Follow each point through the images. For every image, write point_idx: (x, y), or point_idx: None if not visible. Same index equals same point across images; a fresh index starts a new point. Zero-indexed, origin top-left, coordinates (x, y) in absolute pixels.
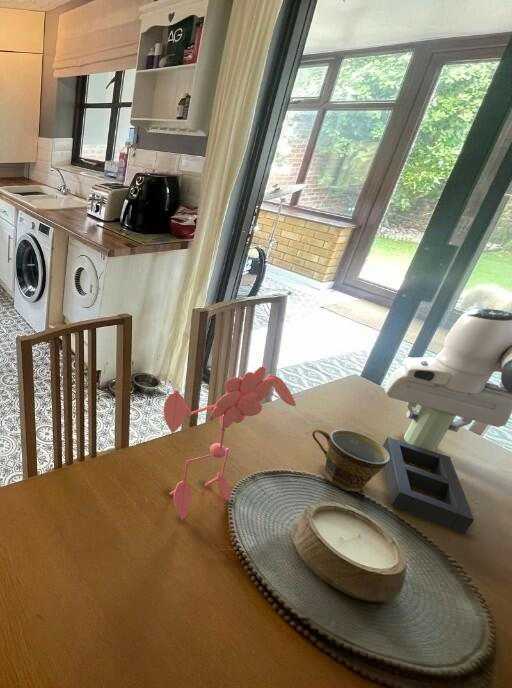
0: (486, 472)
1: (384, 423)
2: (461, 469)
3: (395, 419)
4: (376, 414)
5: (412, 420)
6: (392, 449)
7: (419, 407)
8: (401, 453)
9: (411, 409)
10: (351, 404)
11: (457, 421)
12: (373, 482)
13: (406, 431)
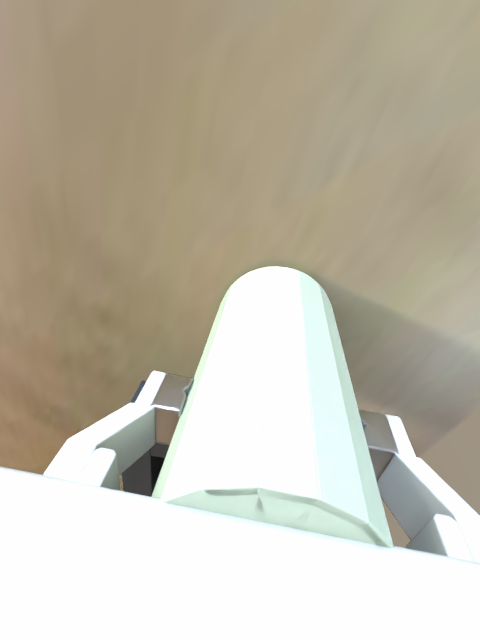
0: (461, 375)
1: (173, 185)
2: (370, 388)
3: (240, 92)
4: (141, 88)
5: (198, 365)
6: (127, 477)
7: (166, 455)
8: (150, 484)
9: (120, 466)
10: (3, 23)
11: (404, 477)
12: (120, 486)
13: (217, 313)
